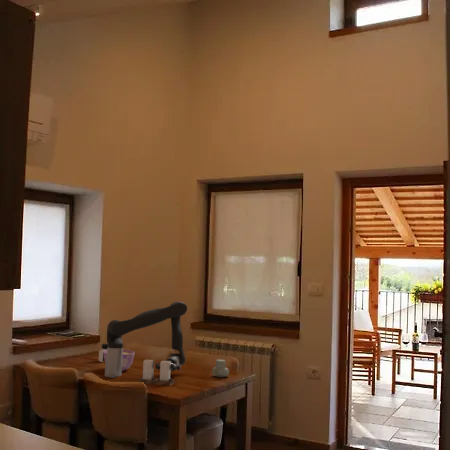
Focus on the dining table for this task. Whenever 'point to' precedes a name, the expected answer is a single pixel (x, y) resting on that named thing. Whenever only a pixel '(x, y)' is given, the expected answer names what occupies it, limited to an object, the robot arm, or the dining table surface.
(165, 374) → the block
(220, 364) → the air freshener
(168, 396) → the dining table surface
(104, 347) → the medicine bottle
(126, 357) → the bowl of food
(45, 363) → the dining table surface
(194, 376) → the dining table surface
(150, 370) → the block
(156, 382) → the pallet
